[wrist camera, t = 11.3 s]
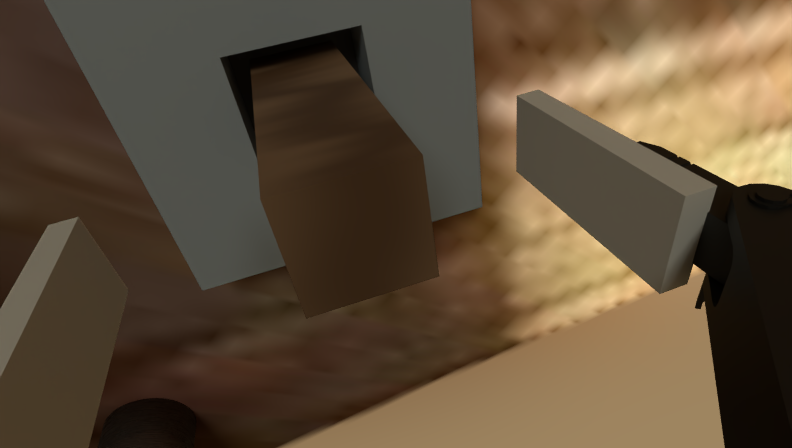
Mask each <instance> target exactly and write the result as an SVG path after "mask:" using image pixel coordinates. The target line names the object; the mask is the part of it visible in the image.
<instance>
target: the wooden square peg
mask: <svg viewBox="0 0 792 448" xmlns="http://www.w3.org/2000/svg"><path fill="white" fill-rule="evenodd" d="M250 70H251V83H252V96H253V110H254V123H255V136H256V149H257V162H258V176H259V189H260V200H261V203H262V205H263V208H264V211H265V213H266V216H267V218H268V221H269V224H270V226H271V229H272V231H273V234H274V236H275V239H276V242H277V244H278V247H279V249H280V252H281V255H282V257H283V260H284V262H285V265H286V268H287V270H288V273H289V275H290V278H291V280H292V283H293V286H294V288H295V291H296V293H297V296H298V299H299V301H300V304H301V306H302V309H303V312H304V314H305V317H306V318H309V317H313V316H316V315H319V314H322V313H325V312H328V311H331V310H335V309H338V308H341V307H344V306H347V305H350V304H354V303H357V302H360V301H363V300H366V299H369V298H372V297H376V296H379V295H382V294H385V293H388V292H391V291H394V290H398V289H401V288H404V287H407V286H410V285H413V284H416V283H420V282H423V281H426V280H429V279H432V278H435V277H438V276H439V271H438V263H437V256H436V249H435V241H434V234H433V226H432V219H431V211H430V204H429V196H428V189H427V182H426V174H425V167H424V159H423V154H422V153H421V152H420V151H419V149H418V148H417V147H416V146H415V144H414V143H413V142H412V141H411V139H410V138H409V137H408V136H407V134H406V133H405V132H404V131H403V130H402V128H401V127H400V126H399V125H398V123H397V122H396V121H395V120H394V118H393V117H392V116H391V115H390V113H389V112H388V111H387V110H386V108H385V107H384V106H383V105H382V103H381V102H380V101H379V100H378V98H377V97H376V96H375V95H374V93H373V92H372V91H371V90H370V88H369V87H368V86H367V85H366V83H365V82H364V81H363V80H362V78H361V77H360V76H359V75H358V74H357V72H356V71H355V70H354V69H353V67H352V66H351V65H350V64H349V62H348V61H347V60H346V59H345V57H344V56H343V55H342V54H341V52H340V51H339V50H338V49H337V47H336V46H335V45H334V44H333V42H332V41H331V40H330V41H326V42H322V43H317V44H313V45H309V46H304V47H300V48H296V49H291V50H287V51H283V52H278V53H274V54H270V55H266V56H261V57H257V58H253V59H250Z"/></svg>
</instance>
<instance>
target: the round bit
mask: <svg viewBox="0 0 792 448" xmlns="http://www.w3.org/2000/svg"><path fill="white" fill-rule="evenodd" d="M195 431H196V417H195V415H194V413H193V412H192V410H191V409H190V408H188V407H187V406H185V405H184V404H182V403H179V402H177V401H173V400H169V399H159V398H153V399H143V400H137V401H134V402H131V403H128V404H125V405H123V406H121V407H119V408H118V409H116V410H115V411H113V412H112V413H111V414H110V415H109V416H108V417H107V419H106V420H105V423H104V426H103V429H102V433H101V437H100V440H99V444H98V448H194V442H195Z"/></svg>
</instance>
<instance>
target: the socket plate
mask: <svg viewBox="0 0 792 448" xmlns="http://www.w3.org/2000/svg"><path fill="white" fill-rule="evenodd" d="M44 2H45V4H46V5H47V7H48V9H49V11H50V13H51V14H52V16H53V18H54V20H55V22H56V24H57V25H58V27H59V29H60V31H61V33H62V35H63V36H64V38H65V40H66V42H67V44H68V46H69V47H70V49H71V51H72V53H73V55H74V57H75V58H76V60H77V62H78V64H79V66H80V68H81V69H82V71H83V73H84V75H85V77H86V78H87V80H88V82H89V84H90V86H91V88H92V89H93V91H94V93H95V95H96V97H97V99H98V100H99V102H100V104H101V106H102V108H103V110H104V111H105V113H106V115H107V117H108V119H109V121H110V122H111V124H112V126H113V128H114V130H115V131H116V133H117V135H118V137H119V139H120V141H121V142H122V144H123V146H124V148H125V150H126V152H127V153H128V155H129V157H130V159H131V161H132V163H133V164H134V166H135V168H136V170H137V172H138V174H139V175H140V177H141V179H142V181H143V183H144V185H145V186H146V188H147V190H148V192H149V194H150V195H151V197H152V199H153V201H154V203H155V205H156V206H157V208H158V210H159V212H160V214H161V216H162V217H163V219H164V221H165V223H166V225H167V227H168V228H169V230H170V232H171V234H172V236H173V238H174V239H175V241H176V243H177V245H178V247H179V249H180V250H181V252H182V254H183V256H184V258H185V259H186V261H187V263H188V265H189V267H190V269H191V270H192V272H193V274H194V276H195V278H196V280H197V281H198V283H199V285H200V287H201V289H202V291H203V290H206V289H209V288H213V287H216V286H219V285H223V284H226V283H229V282H233V281H236V280H239V279H243V278H246V277H249V276H253V275H256V274H259V273H263V272H266V271H269V270H273V269H276V268H279V267H283V266H286V265H285V262H284V260H283V257H282V255H281V252H280V249H279V247H278V244H277V242H276V239H275V236H274V234H273V231H272V229H271V226H270V224H269V221H268V218H267V216H266V213H265V211H264V208H263V205H262V203H261V200H260V189H259V176H258V162H257V149H256V136H255V123H254V110H253V96H252V83H251V70H250V59H253V58H257V57H261V56H266V55H270V54H274V53H278V52H283V51H287V50H291V49H296V48H300V47H304V46H309V45H313V44H317V43H322V42H326V41H330V40H331V41H332V42H333V44H334V45H335V46H336V47H337V49H338V50H339V51H340V52H341V54H342V55H343V56H344V57H345V59H346V60H347V61H348V62H349V64H350V65H351V66H352V67H353V69H354V70H355V71H356V72H357V74H358V75H359V76H360V77H361V78H362V80H363V81H364V82H365V83H366V85H367V86H368V87H369V88H370V90H371V91H372V92H373V93H374V95H375V96H376V97H377V98H378V100H379V101H380V102H381V103H382V105H383V106H384V107H385V108H386V110H387V111H388V112H389V113H390V115H391V116H392V117H393V118H394V120H395V121H396V122H397V123H398V125H399V126H400V127H401V128H402V130H403V131H404V132H405V133H406V134H407V136H408V137H409V138H410V139H411V141H412V142H413V143H414V144H415V146H416V147H417V148H418V149H419V151H420V152H421V153H422V154H423V159H424V167H425V174H426V182H427V189H428V196H429V204H430V211H431V219H432V222H433V221H437V220H440V219H443V218H447V217H450V216H453V215H457V214H460V213H463V212H467V211H470V210H473V209H477V208H480V207H482V194H481V176H480V158H479V140H478V122H477V104H476V86H475V68H474V50H473V32H472V14H471V0H44Z"/></svg>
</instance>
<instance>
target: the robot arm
mask: <svg viewBox="0 0 792 448" xmlns="http://www.w3.org/2000/svg"><path fill="white" fill-rule="evenodd" d="M517 172H518V173H519V174H520V175H521V176H523V177H524V178H525V179H526V180H527V181H528V182H530V183H531V184H532V185H533V186H534V187H535V188H537V189H538V190H539V191H540V192H541V193H543V194H544V195H545V196H546V197H547V198H548V199H550V200H551V201H552V202H553V203H554V204H555V205H557V206H558V207H559V208H560V209H561V210H562V211H564V212H565V213H566V214H567V215H568V216H569V217H571V218H572V219H573V220H574V221H575V222H576V223H578V224H579V225H580V226H581V227H582V228H583V229H585V230H586V231H587V232H588V233H589V234H590V235H592V236H593V237H594V238H595V239H596V240H597V241H599V242H600V243H601V244H602V245H603V246H604V247H606V248H607V249H608V250H609V251H610V252H611V253H613V254H614V255H615V256H616V257H617V258H618V259H620V260H621V261H622V262H623V263H624V264H625V265H627V266H628V267H629V268H630V269H631V270H632V271H634V272H635V273H636V274H637V275H638V276H639V277H641V278H642V279H643V280H644V281H645V282H646V283H648V284H649V285H650V286H651V287H652V288H653V289H655V290H656V291H657V292H658V293H659V294H661V293H664V292H666V291H669V290H672V289H674V288H677V287H680V286H683V285H685V284H687V282H688V280H689V276H690V273H691V270H692V267H693V264H695V265H696V266H697V267H699V268H700V269H701V270H703V271H704V272H705V273H706V274H705V277H704V280H703V284H702V286H701V290H700V293H699V295H698V298H697V301H696V306H695V308H696V309H701V306H702V303H703V302H704V301H705V306H706V314H707V321H708V329H709V335H710V343H711V350H712V357H713V364H714V372H715V380H716V387H717V394H718V401H719V409H720V416H721V423H722V430H723V438H724V445H725V448H792V190H790V189H787V188H784V187H781V186H777V185H770V184H748V185H744V186H740V187H737V186H736V185H734V184H732V183H730V182H728V181H726V180H724V179H722V178H720V177H718V176H716V175H714V174H712V173H710V172H709V171H707V170H705V169H703V168H701V167H699V166H697V165H695V164H692V165H691V164H690V162H689V161H687V160H685V159H683V158H681V157H677V155H676V154H674V153H672V152H670V151H668V150H666V149H664V148H662V147H660V146H656V145H652V144H648V143H645V142H641V141H639V142H635V141H633V140H631V139H629V138H628V137H626V136H624V135H622V134H620V133H618V132H616V131H615V130H613V129H611V128H609V127H607V126H605V125H603V124H602V123H600V122H598V121H596V120H594V119H592V118H590V117H589V116H587V115H585V114H583V113H581V112H579V111H577V110H576V109H574V108H572V107H570V106H568V105H566V104H564V103H562V102H561V101H559V100H557V99H555V98H553V97H551V96H549V95H548V94H546V93H544V92H542V91H540V90H535V91H532V92H528V93H525V94H521V95H517ZM127 294H128V288H127V287H126V285H125V284H124V283H123V281H122V280H121V278H120V277H119V275H118V274H117V272H116V271H115V269H114V268H113V266H112V265H111V264H110V262H109V261H108V259H107V258H106V256H105V255H104V253H103V252H102V250H101V249H100V248H99V246H98V245H97V243H96V242H95V240H94V239H93V237H92V236H91V234H90V233H89V232H88V230H87V229H86V227H85V226H84V224H83V223H82V221H81V220H80V218H79V217H76V218H73V219H69V220H66V221H62V222H58V223H55V224H51V225H48V227H47V228H46V230H45V232H44V234H43V235H42V237H41V239H40V241H39V242H38V244H37V246H36V248H35V249H34V251H33V253H32V255H31V256H30V258H29V260H28V262H27V263H26V265H25V267H24V269H23V270H22V272H21V274H20V275H19V277H18V279H17V281H16V282H15V284H14V286H13V288H12V289H11V291H10V293H9V295H8V296H7V298H6V300H5V302H4V303H3V305H2V307H1V309H0V448H88V447H89V443H90V439H91V435H92V431H93V427H94V423H95V420H96V416H97V412H98V408H99V404H100V400H101V396H102V392H103V388H104V384H105V380H106V376H107V373H108V369H109V365H110V361H111V357H112V353H113V349H114V345H115V341H116V337H117V333H118V329H119V326H120V322H121V318H122V314H123V310H124V306H125V302H126V298H127Z"/></svg>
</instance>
